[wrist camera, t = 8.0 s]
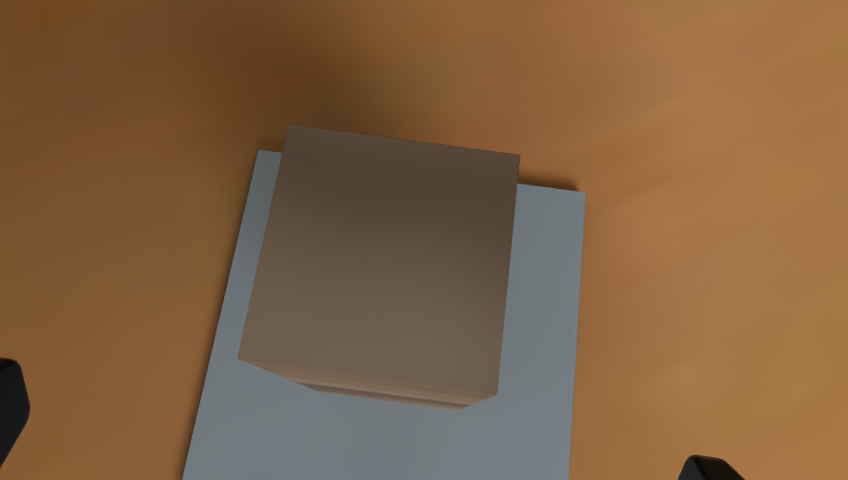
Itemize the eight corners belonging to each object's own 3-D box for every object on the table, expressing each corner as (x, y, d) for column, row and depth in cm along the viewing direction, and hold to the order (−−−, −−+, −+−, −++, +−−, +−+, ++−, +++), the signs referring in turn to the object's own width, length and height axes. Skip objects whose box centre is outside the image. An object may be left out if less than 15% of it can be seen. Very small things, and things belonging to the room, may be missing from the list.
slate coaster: (559, 552, 20) (563, 556, 19) (183, 498, 20) (177, 501, 19) (581, 198, 23) (585, 192, 22) (262, 156, 23) (258, 149, 23)
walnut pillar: (456, 411, 20) (497, 394, 11) (319, 391, 20) (237, 358, 11) (471, 277, 21) (520, 154, 12) (342, 259, 22) (288, 124, 12)
